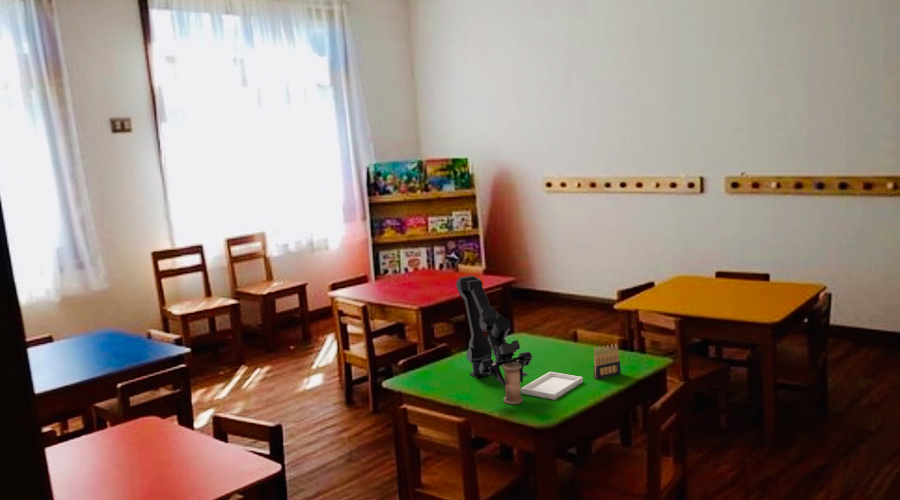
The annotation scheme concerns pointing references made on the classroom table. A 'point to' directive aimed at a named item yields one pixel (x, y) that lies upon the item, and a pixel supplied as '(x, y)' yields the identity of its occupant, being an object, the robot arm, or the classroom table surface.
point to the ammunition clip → (606, 362)
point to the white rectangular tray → (551, 385)
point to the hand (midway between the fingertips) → (513, 383)
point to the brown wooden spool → (512, 383)
